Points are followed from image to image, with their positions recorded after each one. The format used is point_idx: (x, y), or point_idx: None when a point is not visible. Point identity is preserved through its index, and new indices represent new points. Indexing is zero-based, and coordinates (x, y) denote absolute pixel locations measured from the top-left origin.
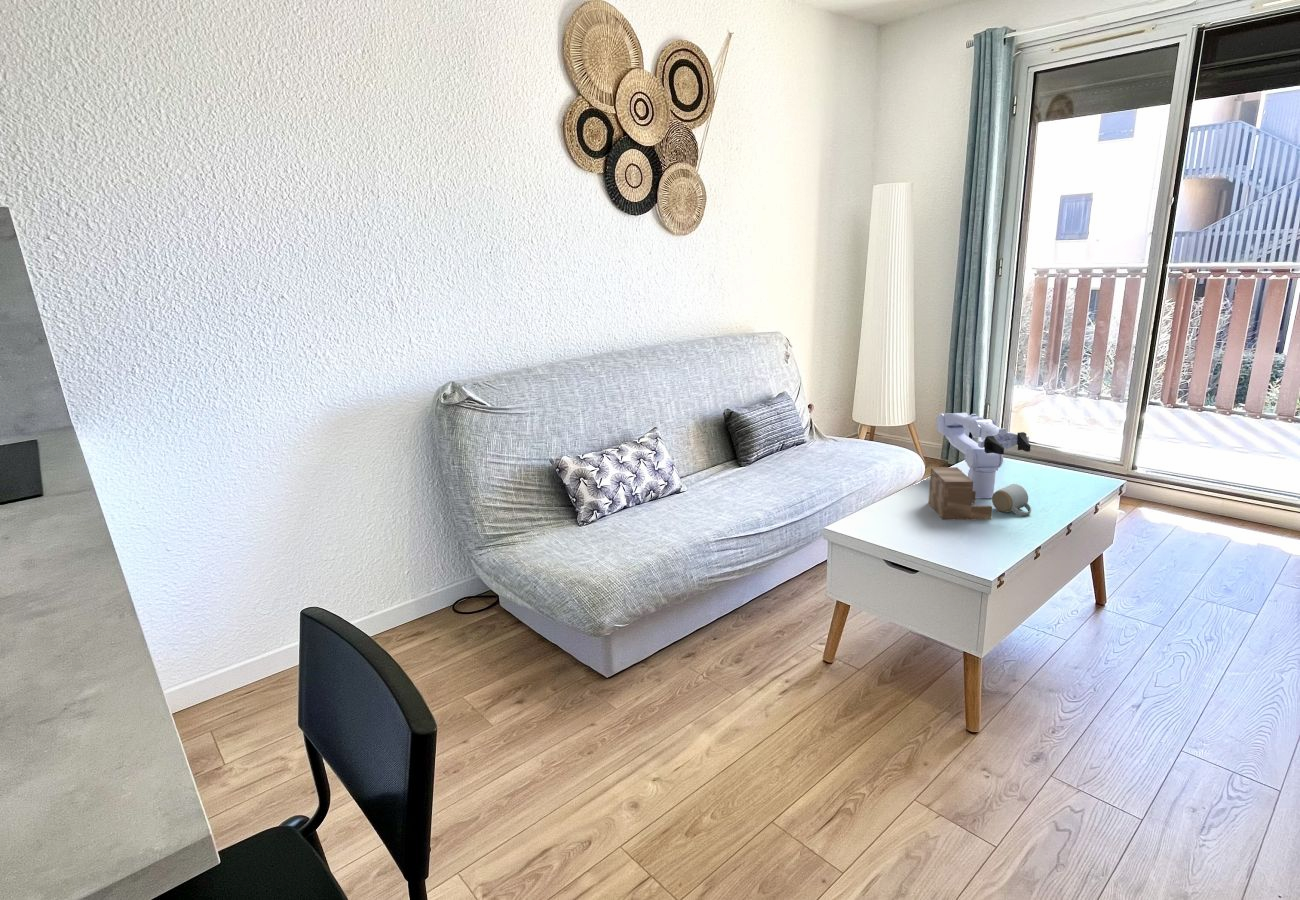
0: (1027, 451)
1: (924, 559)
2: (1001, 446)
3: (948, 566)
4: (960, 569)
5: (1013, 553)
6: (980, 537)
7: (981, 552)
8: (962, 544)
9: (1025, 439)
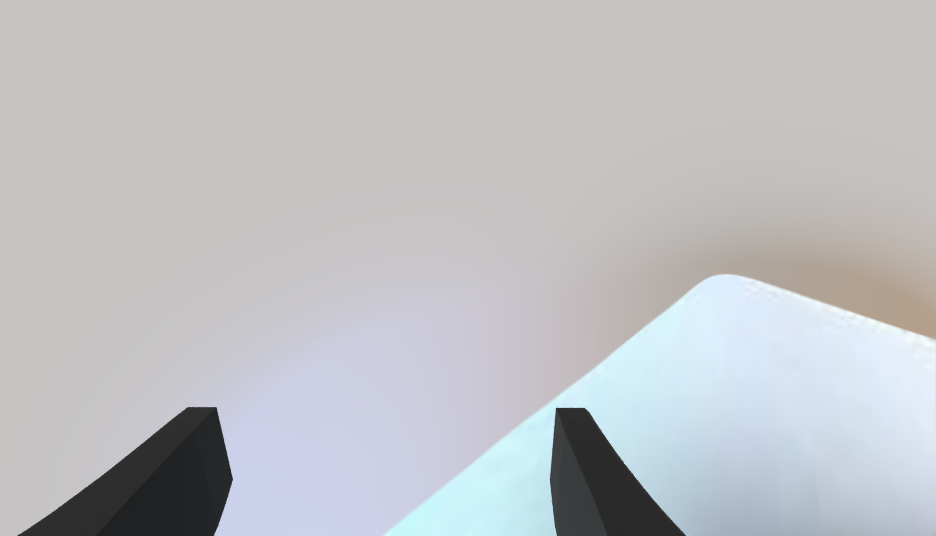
0: (230, 484)
1: (915, 334)
2: (580, 427)
3: (826, 305)
4: (789, 295)
5: (614, 370)
6: (718, 486)
7: (723, 374)
8: (797, 426)
9: (61, 524)
